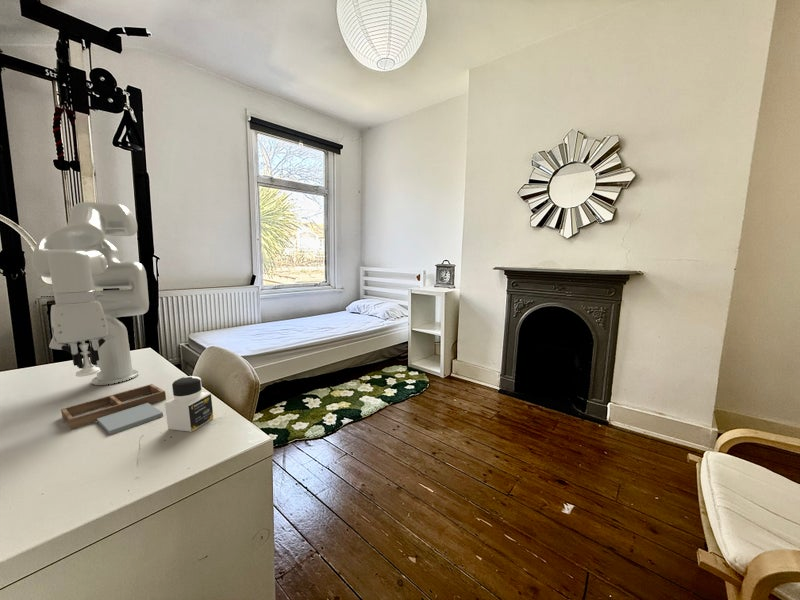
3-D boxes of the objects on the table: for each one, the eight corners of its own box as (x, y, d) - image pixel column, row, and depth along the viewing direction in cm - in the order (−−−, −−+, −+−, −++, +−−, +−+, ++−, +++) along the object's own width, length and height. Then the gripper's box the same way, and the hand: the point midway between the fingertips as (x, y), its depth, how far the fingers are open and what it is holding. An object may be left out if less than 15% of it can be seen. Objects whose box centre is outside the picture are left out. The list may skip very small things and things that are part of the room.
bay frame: (62, 417, 87) (60, 409, 87) (152, 391, 103) (151, 383, 103) (71, 429, 81) (69, 420, 81) (166, 399, 97) (165, 391, 97)
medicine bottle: (191, 432, 78) (186, 385, 77) (167, 429, 80) (161, 383, 78) (214, 418, 85) (209, 374, 84) (191, 415, 87) (186, 373, 85)
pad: (97, 422, 84) (96, 418, 84) (148, 405, 93) (147, 402, 93) (109, 434, 78) (109, 431, 78) (163, 416, 87) (162, 412, 87)
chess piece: (70, 376, 85) (63, 339, 84) (90, 369, 90) (84, 334, 88) (86, 377, 85) (80, 340, 83) (105, 370, 89) (100, 335, 88)
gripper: (111, 293, 93) (120, 355, 96) (27, 301, 80) (41, 372, 83) (119, 295, 88) (129, 360, 91) (32, 304, 75) (46, 378, 78)
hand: (87, 365), depth 87 cm, fingers closed on chess piece
